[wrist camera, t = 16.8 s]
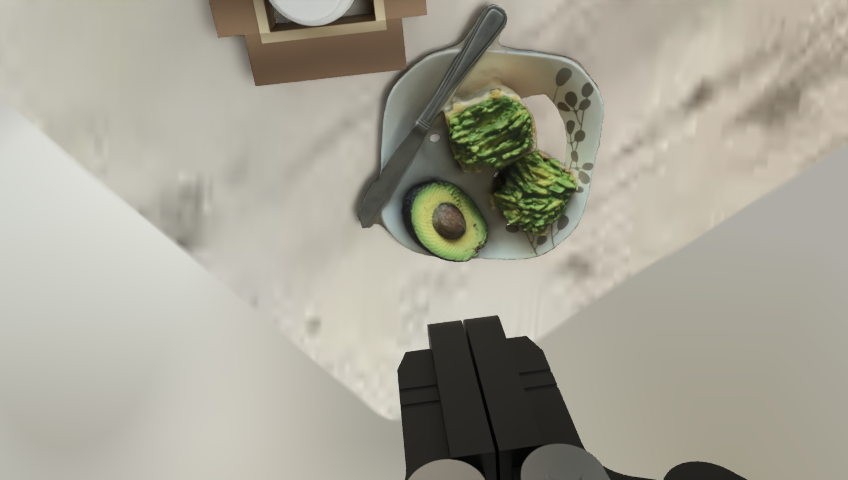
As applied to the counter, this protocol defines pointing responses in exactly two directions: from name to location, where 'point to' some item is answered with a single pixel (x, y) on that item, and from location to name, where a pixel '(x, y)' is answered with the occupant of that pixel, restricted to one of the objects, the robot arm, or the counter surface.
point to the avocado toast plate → (483, 151)
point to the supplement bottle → (312, 10)
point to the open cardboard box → (317, 40)
